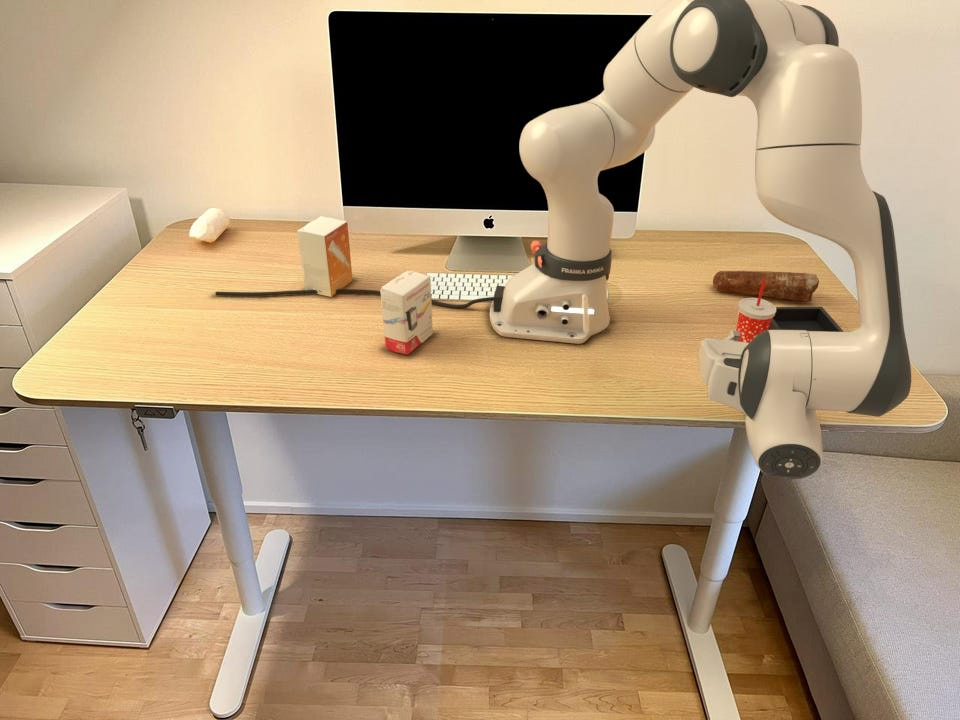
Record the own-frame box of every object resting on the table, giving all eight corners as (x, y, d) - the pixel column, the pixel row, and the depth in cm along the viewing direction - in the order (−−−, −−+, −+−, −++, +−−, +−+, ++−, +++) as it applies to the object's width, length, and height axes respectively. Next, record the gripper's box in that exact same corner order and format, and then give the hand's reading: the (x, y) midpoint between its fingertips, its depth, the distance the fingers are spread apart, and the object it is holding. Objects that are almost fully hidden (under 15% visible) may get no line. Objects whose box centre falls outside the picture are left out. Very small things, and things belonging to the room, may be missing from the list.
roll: (185, 251, 155) (179, 227, 152) (206, 229, 165) (201, 206, 162) (212, 252, 155) (207, 228, 152) (232, 230, 165) (227, 207, 162)
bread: (813, 308, 138) (821, 282, 134) (711, 294, 142) (716, 269, 139) (810, 293, 143) (817, 267, 139) (711, 280, 147) (716, 255, 144)
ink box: (407, 357, 122) (403, 296, 115) (383, 349, 124) (378, 289, 117) (434, 334, 128) (432, 275, 121) (411, 326, 130) (408, 268, 124)
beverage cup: (766, 362, 122) (787, 290, 114) (729, 358, 122) (748, 286, 115) (760, 343, 127) (780, 272, 119) (725, 340, 127) (742, 269, 120)
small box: (331, 298, 139) (324, 236, 131) (304, 291, 141) (295, 230, 134) (354, 280, 145) (348, 220, 138) (327, 274, 147) (320, 215, 140)
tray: (792, 371, 120) (796, 356, 118) (756, 320, 133) (760, 306, 132) (859, 370, 120) (865, 355, 118) (817, 320, 134) (822, 306, 132)
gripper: (862, 381, 95) (843, 329, 106) (704, 361, 99) (701, 312, 110) (848, 418, 98) (831, 364, 110) (696, 397, 102) (694, 347, 113)
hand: (765, 338), depth 110 cm, fingers open, 8 cm apart
